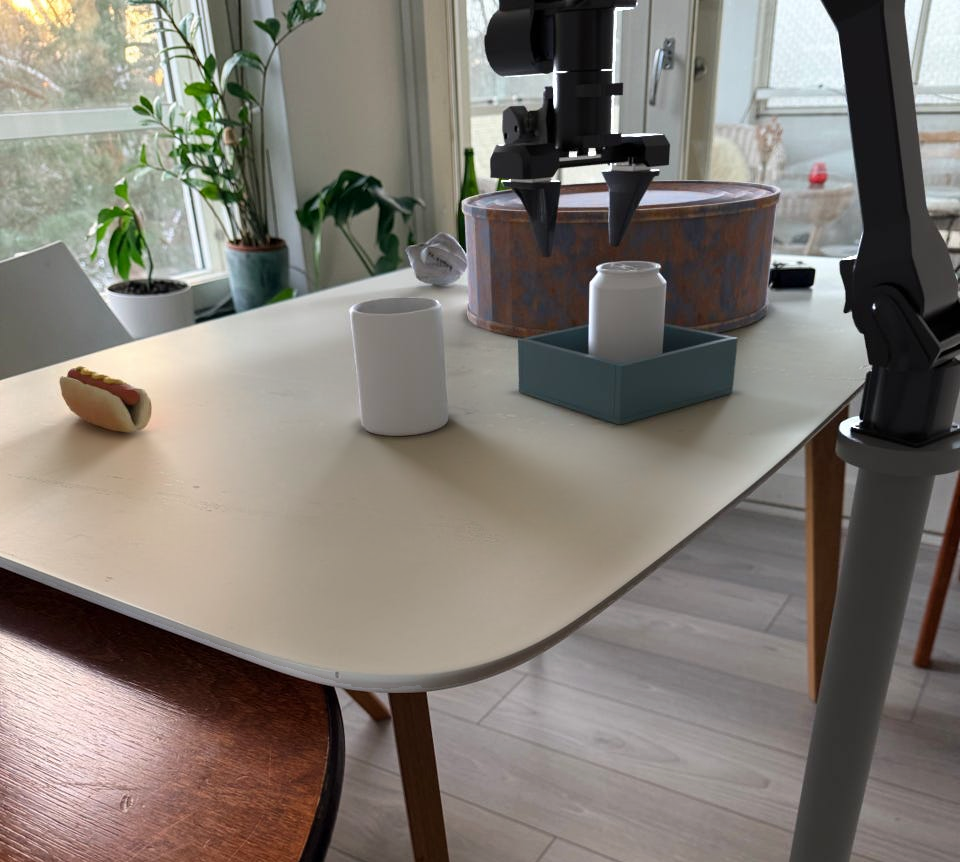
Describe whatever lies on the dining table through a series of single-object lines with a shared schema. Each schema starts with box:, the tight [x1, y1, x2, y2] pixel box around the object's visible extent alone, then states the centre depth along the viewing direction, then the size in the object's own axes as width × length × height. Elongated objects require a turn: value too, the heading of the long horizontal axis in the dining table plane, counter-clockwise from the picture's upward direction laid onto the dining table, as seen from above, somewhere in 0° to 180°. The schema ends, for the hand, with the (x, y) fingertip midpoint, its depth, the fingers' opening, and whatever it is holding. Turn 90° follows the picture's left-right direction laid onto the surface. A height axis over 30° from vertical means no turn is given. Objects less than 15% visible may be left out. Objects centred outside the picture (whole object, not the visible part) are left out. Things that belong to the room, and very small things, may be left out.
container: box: [461, 179, 782, 338], centre depth 128 cm, size 43×43×15 cm
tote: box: [517, 323, 739, 426], centre depth 93 cm, size 16×16×6 cm
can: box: [588, 261, 667, 363], centre depth 91 cm, size 8×8×12 cm
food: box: [59, 365, 153, 433], centre depth 92 cm, size 14×6×5 cm, turn 45°
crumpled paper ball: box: [405, 231, 467, 286], centre depth 154 cm, size 11×9×8 cm
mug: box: [349, 296, 449, 437], centre depth 87 cm, size 12×8×11 cm
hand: (581, 251), depth 93 cm, fingers open, 9 cm apart
